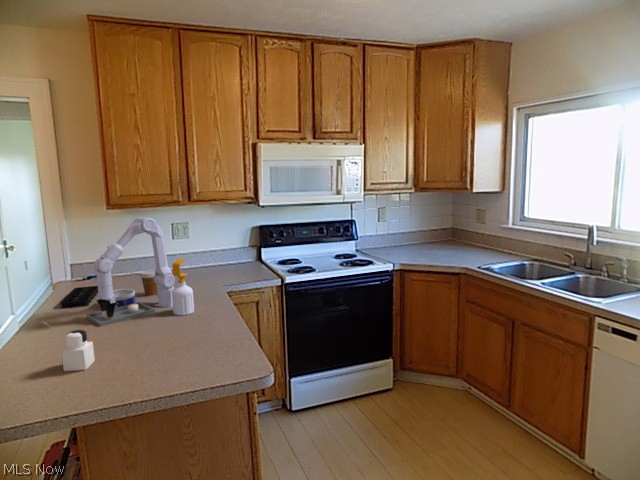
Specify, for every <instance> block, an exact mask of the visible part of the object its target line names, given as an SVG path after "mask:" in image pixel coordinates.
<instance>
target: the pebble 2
mask: <svg viewBox="0 0 640 480" xmlns="http://www.w3.org/2000/svg"><path fill="white" fill-rule="evenodd" d="M137 312H139V308H138V304H130V305H128V313H130V314H133V313H137Z"/></svg>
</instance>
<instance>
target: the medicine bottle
mask: <svg viewBox="0 0 640 480" xmlns="http://www.w3.org/2000/svg"><path fill="white" fill-rule="evenodd" d="M64 336H65V345H66V346H65V348H63V349H62V350H61V361H62V367H63V371H64V372H71V371H72V372H73V371H77V372H78V371H86V370H87V369H88V368H89V367H90V366H91V365H92V364H93V363H94V362H95V359H96V358H95V349H94V343H93V341H88V335H87V331H85V330H83V329H75V330H72V331H69V332H67V333H66V334H65V335H64Z"/></svg>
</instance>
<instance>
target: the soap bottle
mask: <svg viewBox="0 0 640 480" xmlns="http://www.w3.org/2000/svg"><path fill="white" fill-rule="evenodd" d="M184 262H186V259H184V258H178V259H176V260H175V261H174V262H172V265H171V266H172V267H171V269H172V275H173V276H174V277H177V278H178V281H177V286H176V287H174V288H175V289H174V290H173V291H172V301H173V306H172V312H173V314H174V315H177V316H188V315H190V314H193V313H194V312H195V302H194V290H193V288H192V287H190V286H189V285H187V283H186V280H185V279H184V278H185V277H186V276H188V273H183V272H181V265H182V264H183V263H184Z"/></svg>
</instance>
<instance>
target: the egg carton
mask: <svg viewBox="0 0 640 480" xmlns="http://www.w3.org/2000/svg"><path fill="white" fill-rule="evenodd" d="M97 296H98V285H92V286H91V285H90V286H80V287H75V288H73V289H72V290H71V291H70V292H69V293H68V294H67V295H65V297H63V298H62V300H60V301H59V305H61V308H62V309H72V308H74V307H77V308H84V307H88V306H89V305H90V303H91V302H92V300H94V299H95V298H96V297H97Z"/></svg>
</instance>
